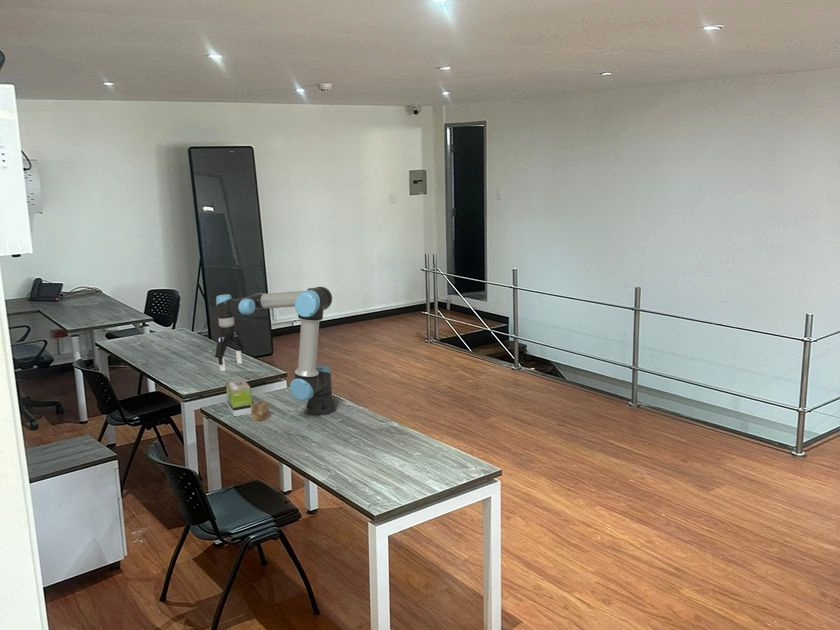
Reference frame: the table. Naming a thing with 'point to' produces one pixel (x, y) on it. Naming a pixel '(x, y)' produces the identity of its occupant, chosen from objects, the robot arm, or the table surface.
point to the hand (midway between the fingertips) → (231, 366)
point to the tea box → (239, 397)
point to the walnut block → (260, 411)
